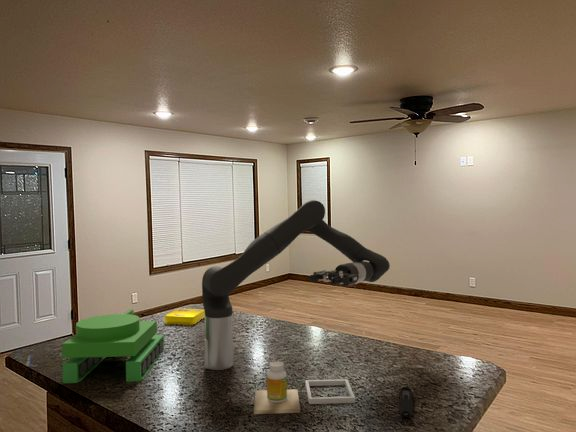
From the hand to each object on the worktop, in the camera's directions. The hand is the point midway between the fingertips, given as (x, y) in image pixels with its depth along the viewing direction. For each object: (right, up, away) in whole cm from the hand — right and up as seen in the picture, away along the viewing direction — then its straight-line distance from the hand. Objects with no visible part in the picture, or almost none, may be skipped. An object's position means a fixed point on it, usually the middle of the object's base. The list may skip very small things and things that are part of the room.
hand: (321, 280), depth 138 cm
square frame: (+1, -30, -14) cm, 33 cm away
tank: (-69, -31, +14) cm, 76 cm away
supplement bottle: (-14, -30, -19) cm, 38 cm away
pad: (-14, -31, -20) cm, 39 cm away
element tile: (-59, -30, +68) cm, 95 cm away
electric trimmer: (+21, -31, -22) cm, 44 cm away
